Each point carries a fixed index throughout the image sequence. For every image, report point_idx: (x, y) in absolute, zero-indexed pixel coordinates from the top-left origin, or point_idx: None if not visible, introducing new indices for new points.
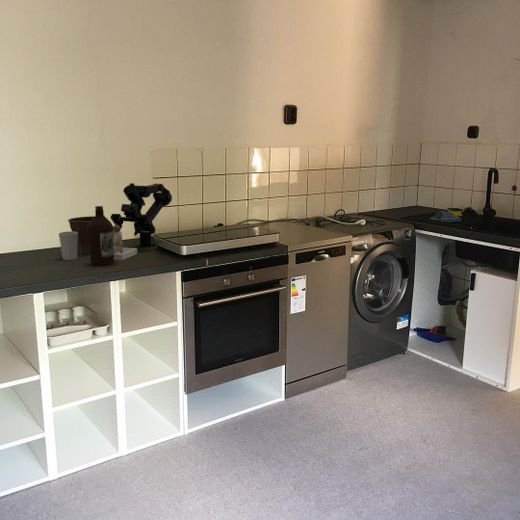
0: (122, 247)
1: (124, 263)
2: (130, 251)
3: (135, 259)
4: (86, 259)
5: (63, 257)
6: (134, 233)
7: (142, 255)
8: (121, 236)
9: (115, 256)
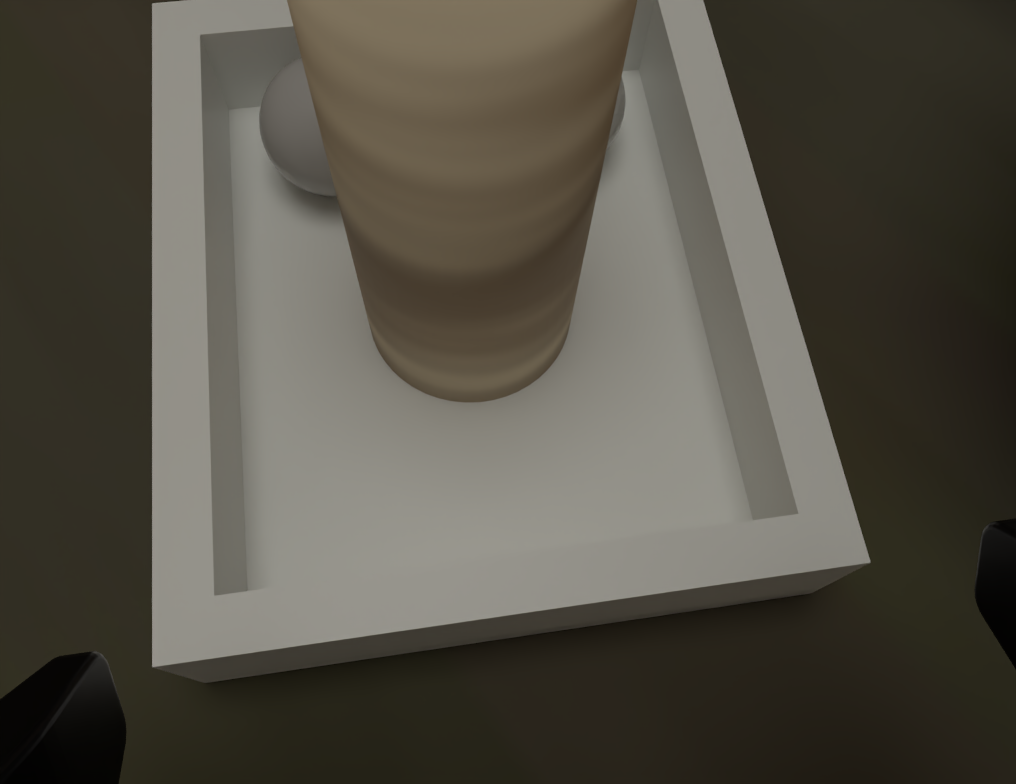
0: (355, 257)
1: (86, 13)
2: (153, 319)
3: (34, 302)
4: (858, 18)
5: None
6: (61, 678)
7: None
8: (289, 5)
9: None
